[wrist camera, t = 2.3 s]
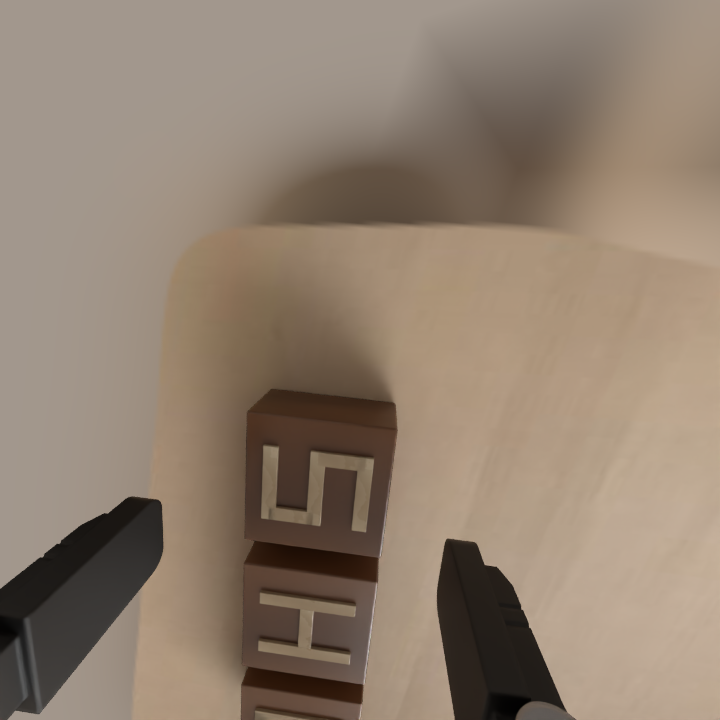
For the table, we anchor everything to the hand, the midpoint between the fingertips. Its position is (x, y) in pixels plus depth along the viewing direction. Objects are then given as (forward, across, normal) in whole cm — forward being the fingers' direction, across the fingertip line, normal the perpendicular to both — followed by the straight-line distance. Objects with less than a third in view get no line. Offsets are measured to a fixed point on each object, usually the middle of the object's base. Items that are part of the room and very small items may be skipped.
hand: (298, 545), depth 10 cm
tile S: (+5, 0, 0) cm, 5 cm away
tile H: (+5, 0, +6) cm, 8 cm away
